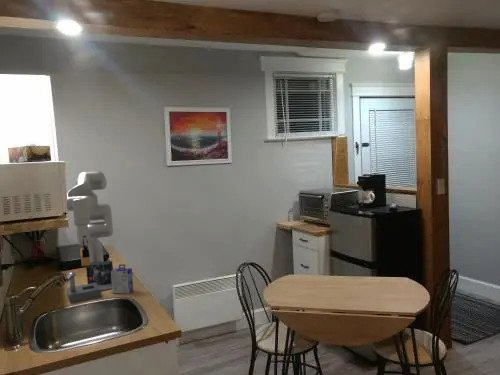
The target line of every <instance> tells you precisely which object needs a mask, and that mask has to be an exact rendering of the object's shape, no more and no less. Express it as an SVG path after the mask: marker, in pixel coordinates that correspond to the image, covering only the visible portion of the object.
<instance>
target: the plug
mask: <svg viewBox="0 0 500 375" xmlns="http://www.w3.org/2000/svg"><path fill="white" fill-rule="evenodd" d="M88 249H89V247H88ZM79 250H80V251H79V252H80V256H79V258H80V261H81V266H82V267H86V266H88V265H91V262H90V256H91V254H90V252H89V257H85V258H83V254H82V250H83V248H81V247H80V249H79Z"/></svg>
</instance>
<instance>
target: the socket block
mask: <svg viewBox="0 0 500 375" xmlns="http://www.w3.org/2000/svg"><path fill="white" fill-rule="evenodd" d="M99 286H100V285H97V283H91V284H88V283H86V284H81V285H76V280H75V276H74V277H72V278H71V279H70V280H69V287H66V295H67V298H68V301H69V303H70V304H72V303H77V302H82V301H86V300H92V299H98V298H101V297H102V293H101V292H102V291H101V290H100V288H99Z"/></svg>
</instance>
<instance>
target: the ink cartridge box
mask: <svg viewBox="0 0 500 375" xmlns="http://www.w3.org/2000/svg"><path fill="white" fill-rule="evenodd" d="M111 279H112V289H111V290H112V291H111V292H112V294H130V293H132V292H134V281H133V280H134V279H133V269H132V267H131V268H130V267H129V268H127V267H126V264H124V263H123V264H122V263H121V264H120V263H119V265H118V268H113V270H112V271H111Z"/></svg>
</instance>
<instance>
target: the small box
mask: <svg viewBox="0 0 500 375" xmlns="http://www.w3.org/2000/svg"><path fill="white" fill-rule="evenodd" d="M113 266H114V265H113V260H107V261H105V260H103V261H101V262H91V265H88V266H85V268H86V269H85V270H86V272H87V276H86V278H87V284H91V283H97V285H98V286H101V285H106V284H111V283H112V279H111V271H112V270H114V268H113Z"/></svg>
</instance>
